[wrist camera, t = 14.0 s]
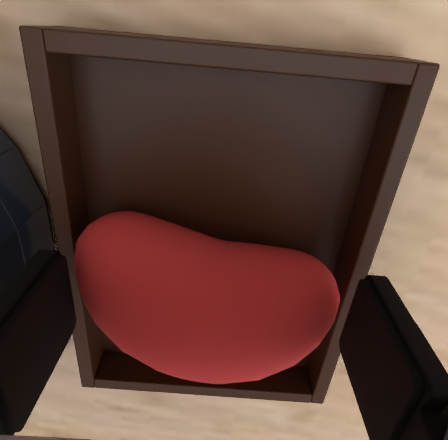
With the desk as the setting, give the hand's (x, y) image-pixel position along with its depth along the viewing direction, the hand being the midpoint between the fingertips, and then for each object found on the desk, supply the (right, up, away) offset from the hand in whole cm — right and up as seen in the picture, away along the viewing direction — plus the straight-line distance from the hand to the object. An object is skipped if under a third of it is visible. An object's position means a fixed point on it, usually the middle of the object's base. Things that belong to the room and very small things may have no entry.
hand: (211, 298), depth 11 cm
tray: (0, +2, +3) cm, 4 cm away
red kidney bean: (0, +1, +3) cm, 3 cm away
